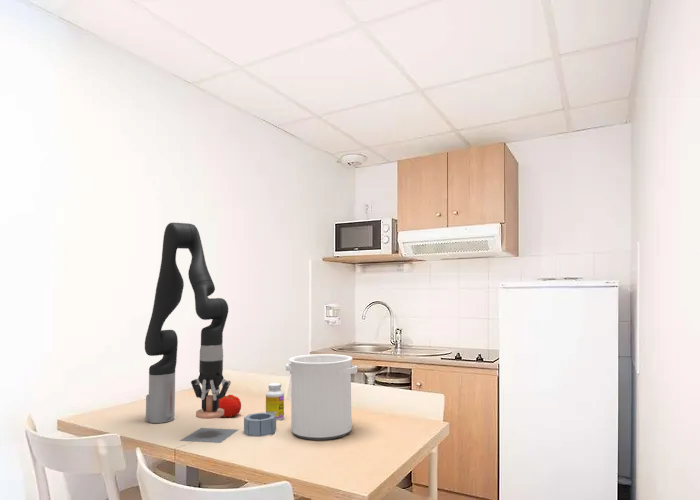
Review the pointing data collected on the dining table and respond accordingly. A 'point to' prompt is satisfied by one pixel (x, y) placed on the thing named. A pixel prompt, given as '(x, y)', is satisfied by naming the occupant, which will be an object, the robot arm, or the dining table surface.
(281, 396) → the supplement bottle
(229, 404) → the tomato
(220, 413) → the lid
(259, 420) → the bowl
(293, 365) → the bucket
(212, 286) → the robot arm
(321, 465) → the dining table surface
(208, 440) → the mat
